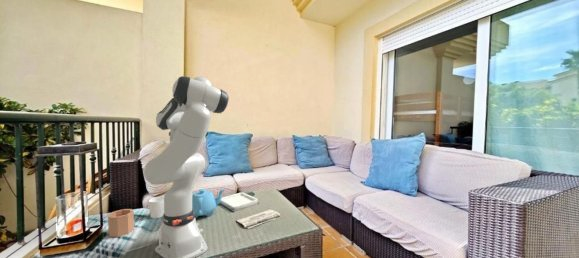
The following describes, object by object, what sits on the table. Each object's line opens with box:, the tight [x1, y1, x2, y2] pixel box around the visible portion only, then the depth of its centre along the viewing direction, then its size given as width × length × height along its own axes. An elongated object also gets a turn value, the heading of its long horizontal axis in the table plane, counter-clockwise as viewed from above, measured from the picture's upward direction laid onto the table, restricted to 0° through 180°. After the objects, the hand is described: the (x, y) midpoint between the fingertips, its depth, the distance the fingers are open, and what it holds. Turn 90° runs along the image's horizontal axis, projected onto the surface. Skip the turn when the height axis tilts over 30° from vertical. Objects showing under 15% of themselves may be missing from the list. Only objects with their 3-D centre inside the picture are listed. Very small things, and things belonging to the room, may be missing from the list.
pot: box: [107, 208, 135, 238], centre depth 106 cm, size 9×9×10 cm
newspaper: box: [235, 209, 281, 230], centre depth 122 cm, size 23×12×2 cm, turn 129°
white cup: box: [148, 196, 164, 219], centre depth 123 cm, size 8×8×10 cm
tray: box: [219, 191, 260, 212], centre depth 144 cm, size 20×18×2 cm
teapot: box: [192, 188, 226, 219], centre depth 128 cm, size 16×20×14 cm
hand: (179, 156), depth 133 cm, fingers closed on dowel, 4 cm apart
